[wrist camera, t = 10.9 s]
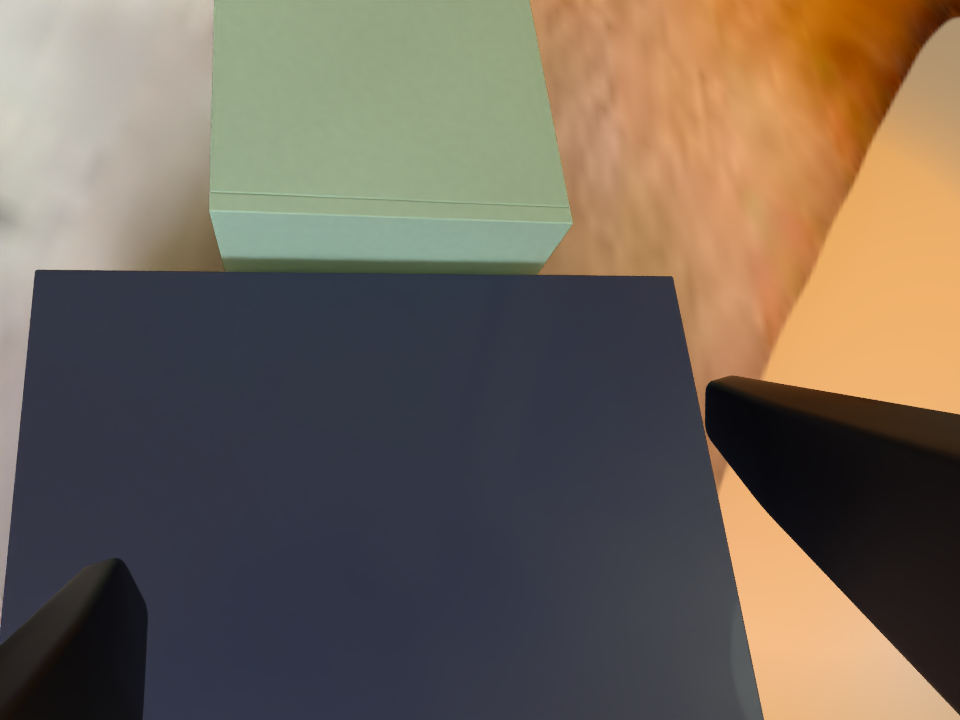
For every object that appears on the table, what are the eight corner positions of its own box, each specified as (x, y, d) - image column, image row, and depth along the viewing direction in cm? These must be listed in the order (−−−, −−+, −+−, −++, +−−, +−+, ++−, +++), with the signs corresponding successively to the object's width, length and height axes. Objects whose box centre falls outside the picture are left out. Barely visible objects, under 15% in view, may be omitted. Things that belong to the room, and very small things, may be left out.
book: (697, 740, 22) (777, 778, 18) (41, 890, 16) (-37, 987, 13) (622, 314, 26) (673, 275, 22) (83, 319, 21) (34, 268, 17)
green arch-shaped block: (573, 223, 19) (527, -13, 23) (208, 210, 17) (215, -59, 20) (516, 305, 25) (485, 104, 28) (233, 306, 22) (235, 82, 25)
